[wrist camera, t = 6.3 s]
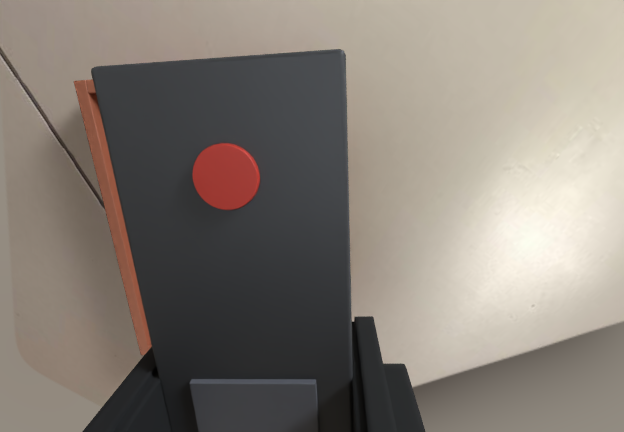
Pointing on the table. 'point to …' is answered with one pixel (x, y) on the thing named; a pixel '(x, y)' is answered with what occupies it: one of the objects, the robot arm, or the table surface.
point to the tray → (112, 206)
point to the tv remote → (239, 234)
